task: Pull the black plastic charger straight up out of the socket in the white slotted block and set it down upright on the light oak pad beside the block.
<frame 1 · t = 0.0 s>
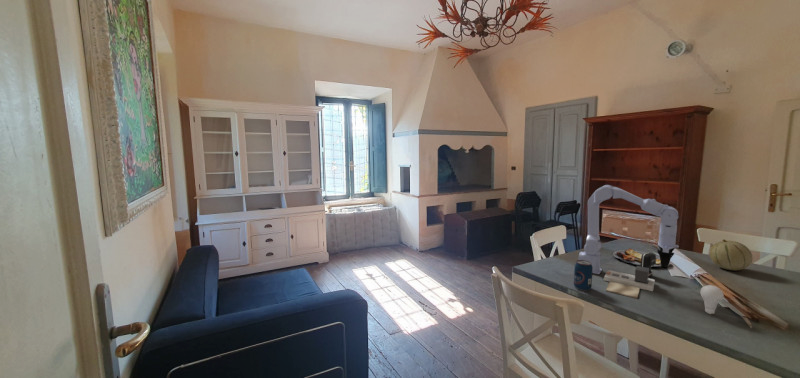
hand: (664, 264, 140), 10 cm above the table, tool pointing down, fingers open, 7 cm apart
lightbulb: (709, 314, 117), on the table
cantaloupe: (728, 269, 158), on the table
soda can: (582, 288, 140), on the table
food plate: (639, 261, 172), on the table
battery charger: (647, 276, 151), on the table
charger: (641, 284, 142), resting in white slotted block
white slotted block: (628, 282, 145), on the table
pad: (622, 290, 137), on the table
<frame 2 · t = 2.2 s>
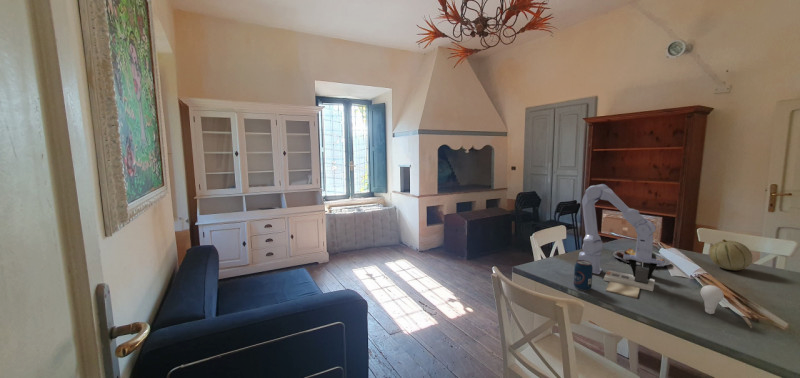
hand: (641, 277, 142), 3 cm above the table, tool pointing down, fingers closed on charger, 4 cm apart
charger: (641, 284, 142), resting in white slotted block, touching gripper
everything else where it was.
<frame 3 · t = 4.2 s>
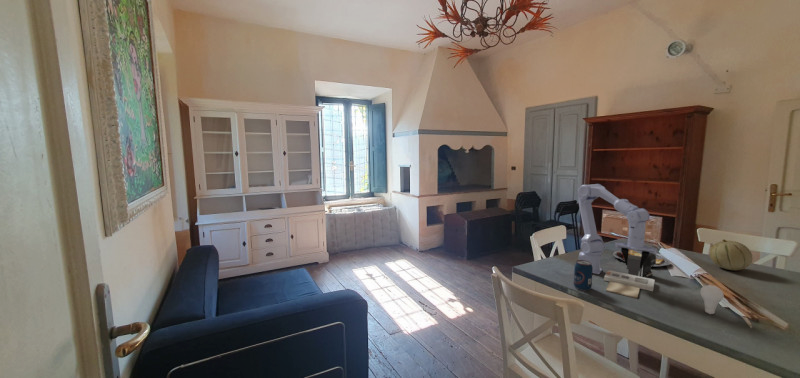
hand: (633, 266, 139), 10 cm above the table, tool pointing down, fingers closed on charger, 4 cm apart
charger: (633, 273, 139), point 6 cm above the table, touching gripper
everything else where it was.
when the fingers open (5 cm above the table, at t = 6.4 s): charger stays where it is, resting on pad.
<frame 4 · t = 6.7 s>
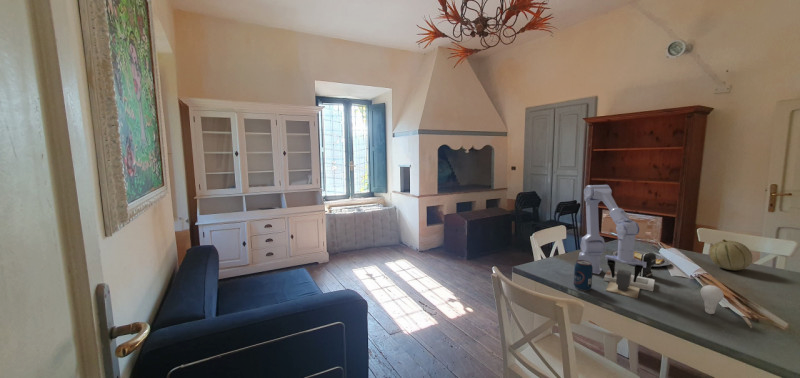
hand: (623, 279, 137), 5 cm above the table, tool pointing down, fingers open, 7 cm apart
charger: (622, 288, 137), point 1 cm above the table, touching pad
everything else where it was.
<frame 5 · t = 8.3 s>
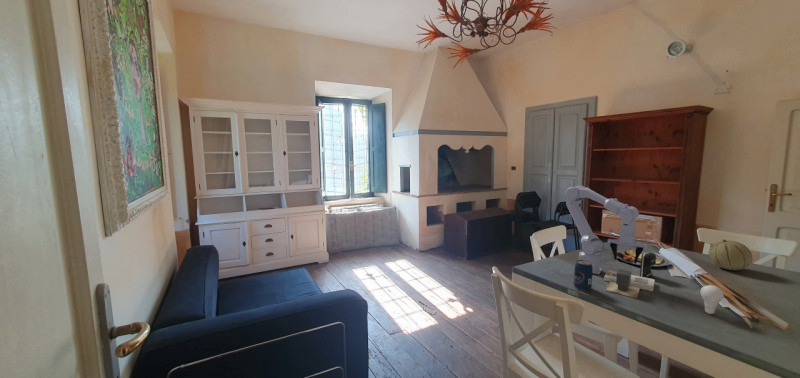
hand: (625, 261, 146), 9 cm above the table, tool pointing down, fingers open, 7 cm apart
nothing on the table moved.
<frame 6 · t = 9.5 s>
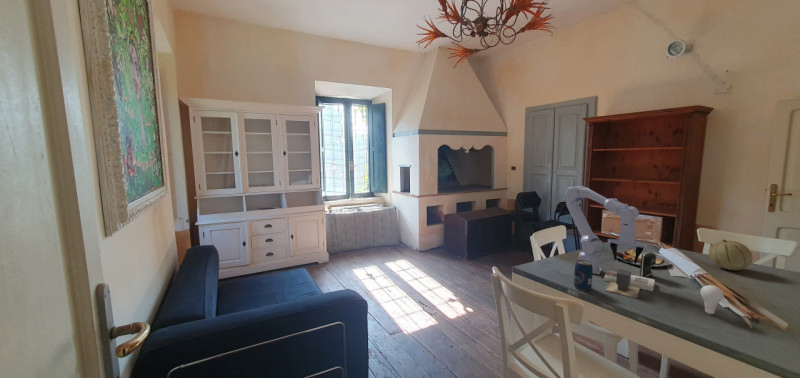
hand: (625, 261, 146), 9 cm above the table, tool pointing down, fingers open, 7 cm apart
nothing on the table moved.
at the end: charger inside the target area (0.1 cm from its centre), point 0.6 cm above the table; charger tilted 0°; the gripper is holding nothing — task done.
